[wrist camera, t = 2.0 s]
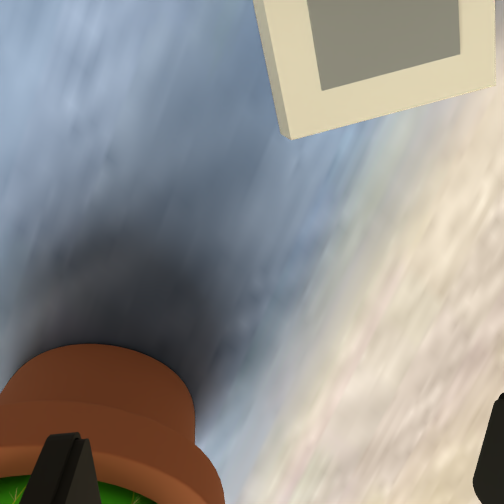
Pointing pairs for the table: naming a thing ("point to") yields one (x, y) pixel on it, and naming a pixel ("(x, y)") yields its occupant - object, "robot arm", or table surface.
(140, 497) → the potted cactus
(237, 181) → the table surface
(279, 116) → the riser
